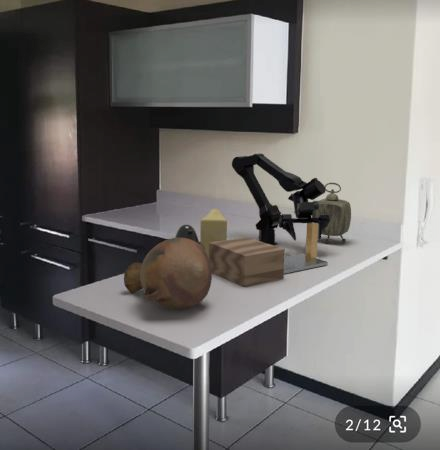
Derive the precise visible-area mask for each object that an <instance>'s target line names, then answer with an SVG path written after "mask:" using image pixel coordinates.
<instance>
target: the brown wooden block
mask: <svg viewBox="0 0 440 450" xmlns="http://www.w3.org/2000/svg"><path fill="white" fill-rule="evenodd" d="M284 257H285V248H282V247H279V246H276V245H274V244H273V245H270V244H267V243H264V242H261V241H259V239H258V240H256V239H255V238H251V237H248V236H245V237H244V236H243V237H237V238H233V239H227V240H223V241H217V242H210V243H209V260H210V263H211V269H212V274H215V275H216V276H218V277H221V278H223V279H226V280H228V281H230V282H232V283H234V284H236V285H238V286H241V287H244V288H247V287H252V286H256V285H260V284H266V283H270V282H274V281H279V280H280V281H281V280H284V275H285V274H284Z"/></svg>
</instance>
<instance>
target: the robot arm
mask: <svg viewBox="0 0 440 450" xmlns="http://www.w3.org/2000/svg"><path fill="white" fill-rule="evenodd" d="M256 165H257V166H258V167H260V168H261V169H262V170H263V171H264V172H266V173H268V174H269V175H270V177H272V178H274V179H276V181H277V182H278V185H279V186H280V187H281V188H282V189H283V191H286V192H287V193H291V192H294V193H291V194H290V195H289V196H288V198H287V199H288V200H289V201H291V202H293V208H294V211H293V213H294V214H295V217H293V216H292V214H291V213H282V212H281V211H280V209H279V206H278V205H277V204H274V205H273V204H272V203H271V202H270V200H269V199H268V197H267V195H266V193H265V192H264V190H263V188H262V186H261V184H260V182H259V180H258V179H257V177H256V175H255V170H254V169H255V166H256ZM231 166H232V169H233V171H235V173H236V174H237V175H239V177H240V178H241V179H242V180H243V181H244V183H245V184H246V187H247V189H248V190H249V192H250V194H251V196H252V198H253V199H254V202H255V204H256V205H257V207H258V210H259V211H258V216H259V219H260V220H258V222H257V223H256V224H255V229H256V231H258V241H261V242H264V243H267V244H270V245H273V246H274V245H278V242H277V241H276V233H275V232H276V229H277V228H278V227H279V228H280V229H282V230H284V231H286V232H287V233H288V234H289V236H291V238H292V239H293V241H297V235H296V231H295V226H294V224H307V223H312V222H313V223H317V224H318V238H317V241H319V242H320V241H321V238H322V235H321V234H322V229H324V228H325V227H327V226H328V224H329V222H330V216H329V215H328V214H319V215H318V217H317V218H312V216H313V211H315V210H318V209H319V203H318V201H319V200H316V199H317V198H319V197H320V196H322V195H324V194H325V193H326V192H327V191H326V190H325V185H324V184H323V183H322V182H321V181H320V180H319V179H318V178H317V177H314V178H312V179H311V180H309V181H308V182H307V181H304V180H303V179H302V178H301V177H300V176H298V175H296V174H294V173H291V172H289V171H286V170H285V169H283V168H282V167H280V166H279V165H278V164H276V163H275V162H273V161H272V160H271V159H269V158H268V157H266V156H265V154H263V153H253V154H252V155H241V156H235V157H234V158H233V159H232V161H231ZM309 200H310V201H309ZM311 200H312V201H311Z"/></svg>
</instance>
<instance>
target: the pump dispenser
mask: <svg viewBox="0 0 440 450" xmlns="http://www.w3.org/2000/svg"><path fill="white" fill-rule="evenodd" d="M178 237H181V238H187V239H191V240H193V241H195V242H200V241H199V238H198V234H197V232H196V230H195V228H194V227H193V226H192V225H190V224H187V223H186V224H182V225H181V226H179V228H178V229H177V231H176V233H175V236H174V238H178Z"/></svg>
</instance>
